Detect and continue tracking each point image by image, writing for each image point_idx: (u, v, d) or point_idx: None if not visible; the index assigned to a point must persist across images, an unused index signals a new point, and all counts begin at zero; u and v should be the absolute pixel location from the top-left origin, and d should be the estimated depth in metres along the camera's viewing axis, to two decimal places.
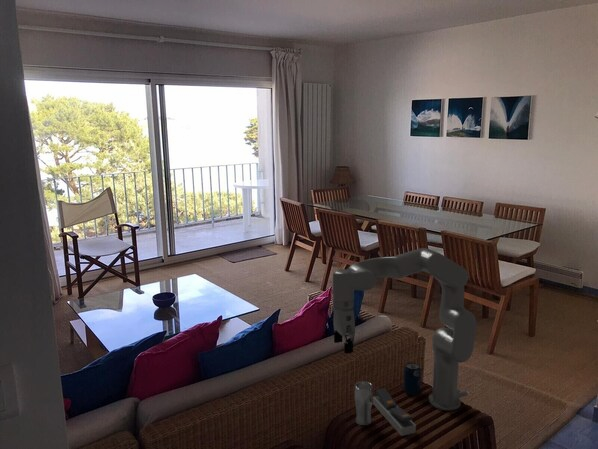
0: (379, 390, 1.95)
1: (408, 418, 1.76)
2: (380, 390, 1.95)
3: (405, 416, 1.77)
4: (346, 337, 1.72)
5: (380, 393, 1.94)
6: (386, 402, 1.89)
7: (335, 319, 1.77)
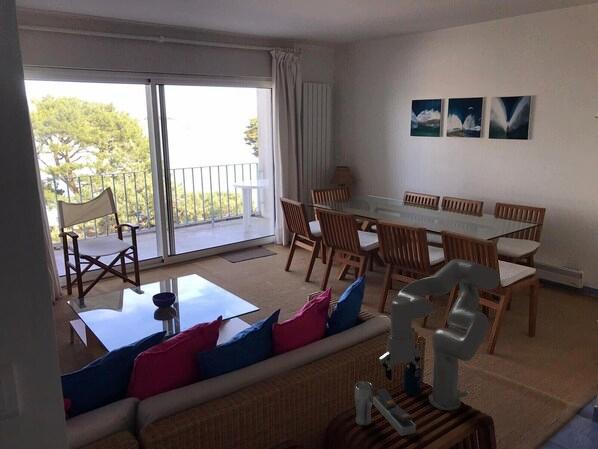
0: (379, 390, 1.95)
1: (408, 418, 1.76)
2: (380, 390, 1.95)
3: (405, 416, 1.77)
4: (414, 359, 1.78)
5: (380, 393, 1.94)
6: (386, 402, 1.89)
7: (399, 352, 1.73)
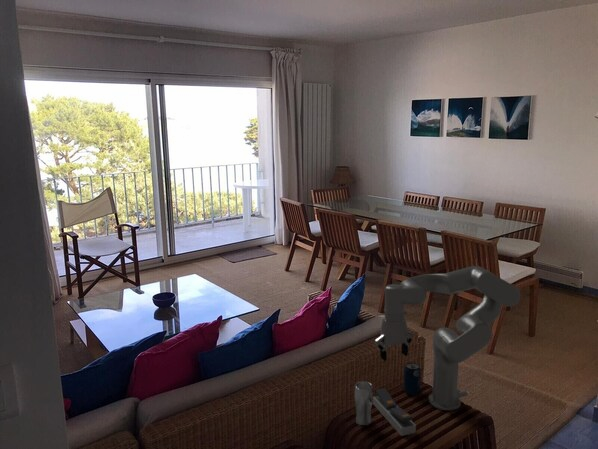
0: (379, 390, 1.95)
1: (408, 418, 1.76)
2: (380, 390, 1.95)
3: (405, 416, 1.77)
4: None
5: (380, 393, 1.94)
6: (386, 402, 1.89)
7: (393, 334, 1.86)
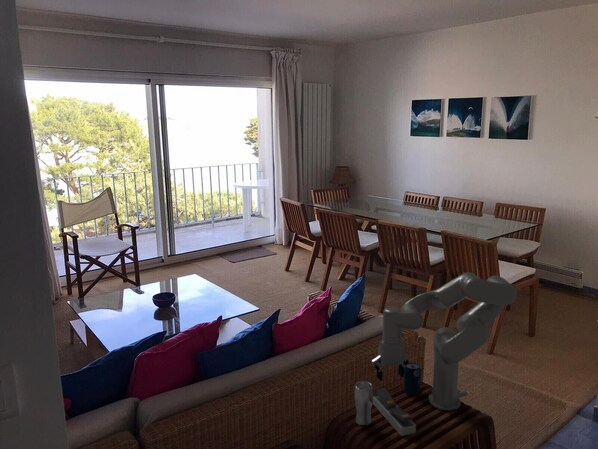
0: (379, 390, 1.95)
1: (408, 418, 1.76)
2: (380, 390, 1.95)
3: (405, 416, 1.77)
4: (403, 362, 1.96)
5: (380, 393, 1.94)
6: (386, 402, 1.89)
7: (390, 356, 1.91)
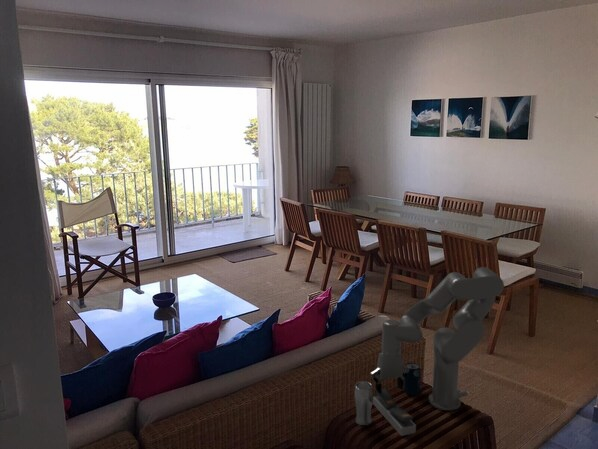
0: None
1: (408, 418, 1.76)
2: None
3: (405, 416, 1.77)
4: (402, 375, 1.97)
5: (380, 393, 1.94)
6: (386, 402, 1.89)
7: (389, 368, 1.92)
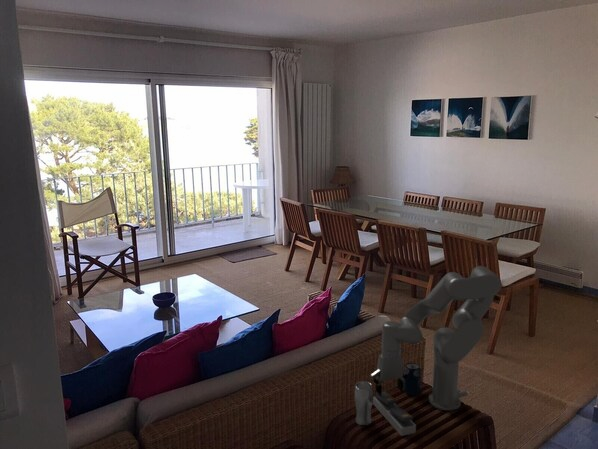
0: None
1: (408, 418, 1.76)
2: None
3: (405, 416, 1.77)
4: (402, 376, 1.97)
5: (380, 395, 1.94)
6: (386, 399, 1.89)
7: (389, 370, 1.92)
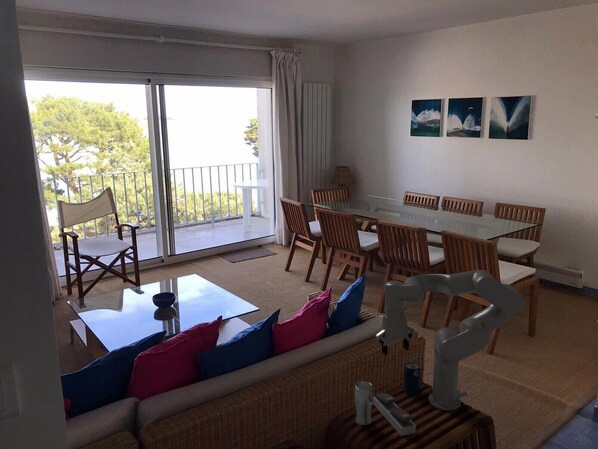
0: (379, 394, 1.96)
1: (408, 418, 1.76)
2: (380, 394, 1.96)
3: (405, 416, 1.77)
4: None
5: (380, 395, 1.94)
6: (386, 399, 1.89)
7: (394, 329, 1.91)
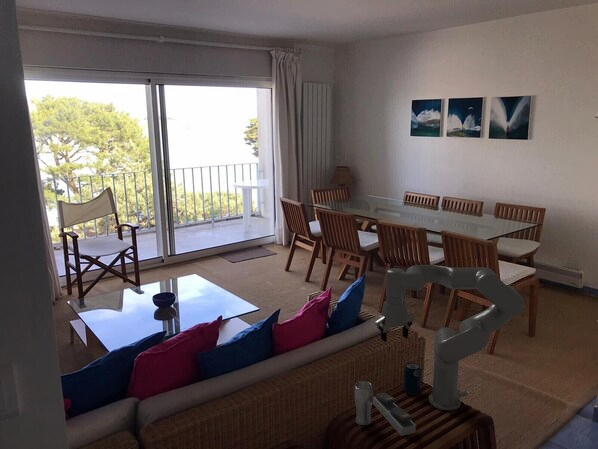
0: (379, 394, 1.96)
1: (408, 418, 1.76)
2: (380, 394, 1.96)
3: (405, 416, 1.77)
4: (406, 324, 1.96)
5: (380, 395, 1.94)
6: (386, 399, 1.89)
7: (394, 316, 1.92)
